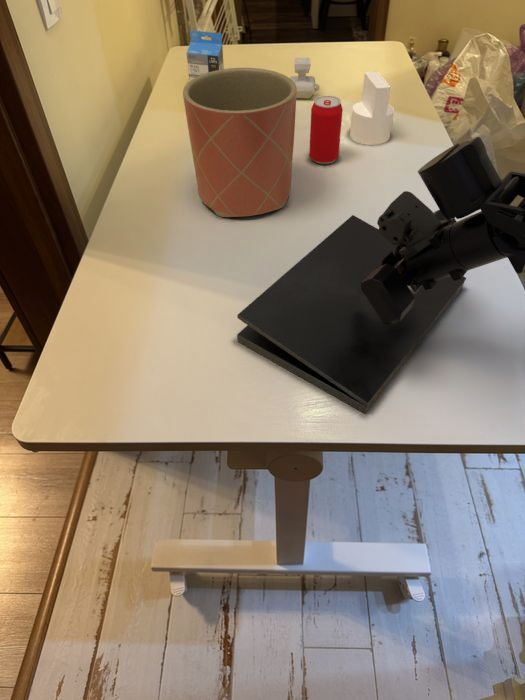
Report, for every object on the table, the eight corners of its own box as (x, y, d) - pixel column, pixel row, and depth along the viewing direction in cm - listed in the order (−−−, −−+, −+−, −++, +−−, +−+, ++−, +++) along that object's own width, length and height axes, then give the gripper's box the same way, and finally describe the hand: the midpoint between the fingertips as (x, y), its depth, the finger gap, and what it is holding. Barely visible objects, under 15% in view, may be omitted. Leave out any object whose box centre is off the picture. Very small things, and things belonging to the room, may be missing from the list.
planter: (189, 178, 106) (175, 73, 91) (278, 165, 109) (279, 62, 94) (205, 230, 93) (192, 118, 79) (306, 213, 96) (311, 103, 82)
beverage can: (338, 152, 112) (343, 94, 103) (338, 166, 108) (343, 107, 99) (309, 151, 113) (312, 94, 104) (308, 165, 109) (311, 107, 100)
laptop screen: (236, 318, 71) (237, 314, 70) (351, 218, 87) (352, 214, 86) (366, 406, 64) (367, 403, 64) (464, 281, 80) (466, 278, 80)
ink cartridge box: (189, 86, 138) (183, 35, 129) (194, 81, 141) (189, 30, 132) (220, 90, 136) (216, 37, 127) (225, 84, 139) (222, 32, 130)
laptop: (237, 341, 75) (236, 334, 73) (347, 241, 90) (348, 234, 89) (364, 413, 66) (366, 406, 64) (461, 289, 81) (464, 281, 80)
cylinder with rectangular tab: (395, 143, 115) (405, 86, 106) (355, 146, 114) (362, 89, 105) (382, 125, 121) (391, 70, 112) (345, 128, 120) (350, 73, 111)
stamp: (283, 101, 131) (283, 65, 125) (284, 90, 135) (285, 55, 129) (318, 101, 130) (320, 65, 124) (319, 91, 135) (321, 55, 128)
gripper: (464, 151, 62) (371, 203, 75) (389, 223, 53) (297, 268, 65) (507, 229, 65) (410, 266, 78) (443, 311, 55) (344, 338, 68)
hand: (368, 282), depth 72 cm, fingers closed
